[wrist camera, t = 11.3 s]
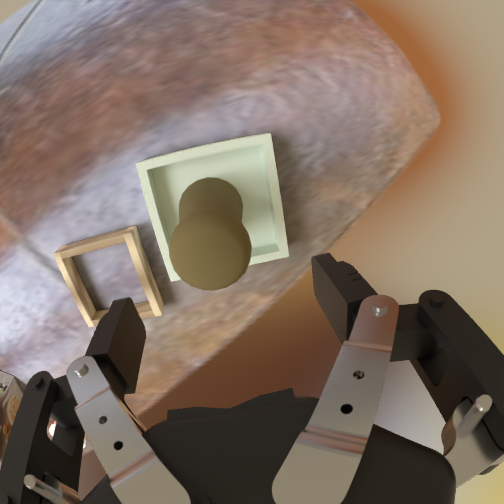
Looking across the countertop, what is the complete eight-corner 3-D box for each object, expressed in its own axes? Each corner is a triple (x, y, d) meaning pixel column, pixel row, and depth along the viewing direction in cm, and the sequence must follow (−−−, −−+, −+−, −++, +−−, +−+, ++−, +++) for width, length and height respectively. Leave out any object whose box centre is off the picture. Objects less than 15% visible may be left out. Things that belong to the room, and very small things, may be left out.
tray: (142, 160, 24) (135, 163, 22) (265, 132, 25) (270, 133, 23) (173, 269, 29) (170, 281, 27) (283, 246, 30) (289, 256, 28)
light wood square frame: (61, 246, 26) (53, 253, 25) (136, 225, 27) (130, 232, 25) (93, 317, 30) (88, 327, 29) (164, 304, 31) (162, 315, 29)
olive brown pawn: (195, 248, 28) (187, 318, 18) (167, 193, 25) (139, 237, 15) (252, 225, 28) (276, 284, 18) (228, 166, 25) (239, 193, 15)
